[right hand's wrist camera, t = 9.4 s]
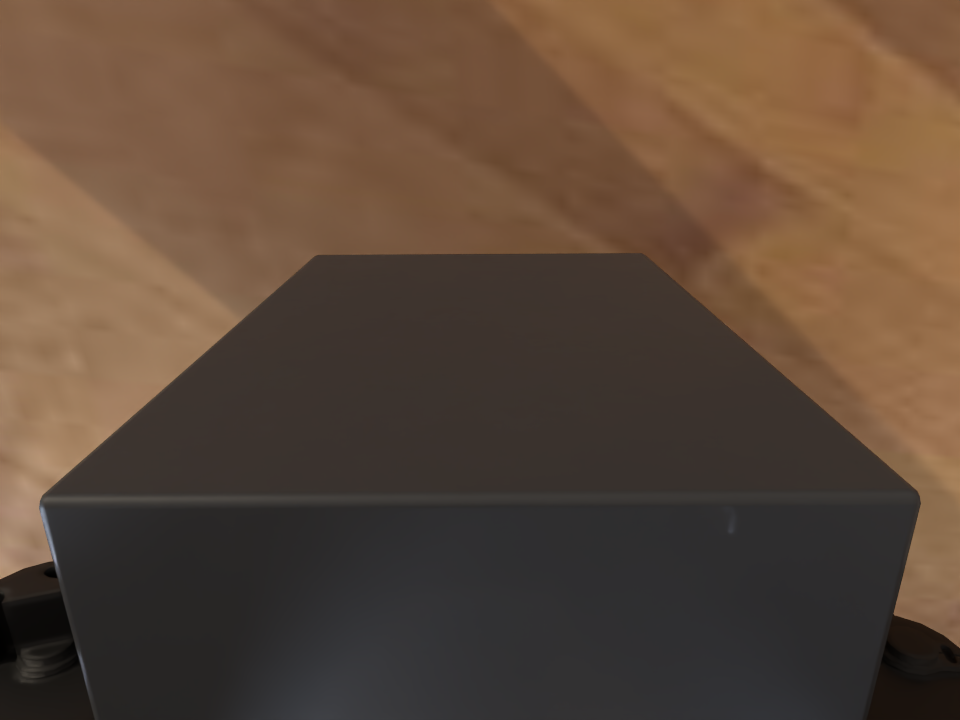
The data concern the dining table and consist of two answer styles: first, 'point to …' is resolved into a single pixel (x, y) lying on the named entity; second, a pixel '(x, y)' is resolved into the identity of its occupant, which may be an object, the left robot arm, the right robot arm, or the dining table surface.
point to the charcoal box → (480, 512)
